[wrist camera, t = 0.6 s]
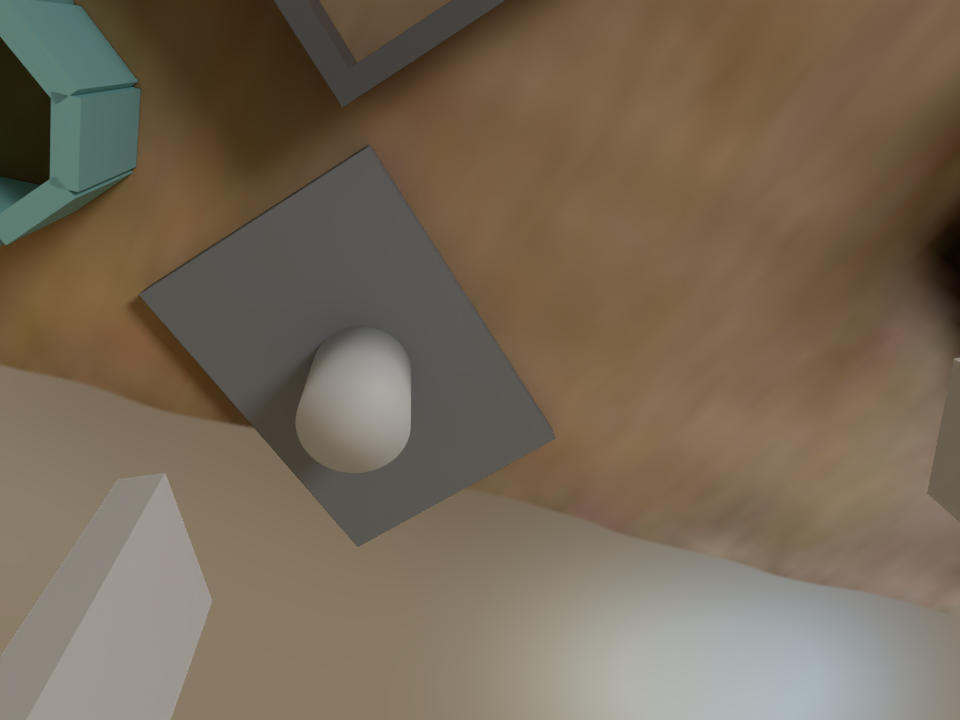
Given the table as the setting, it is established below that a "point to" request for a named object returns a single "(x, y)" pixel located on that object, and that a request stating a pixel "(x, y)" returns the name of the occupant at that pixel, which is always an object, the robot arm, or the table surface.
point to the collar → (69, 112)
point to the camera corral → (357, 78)
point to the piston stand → (353, 350)
